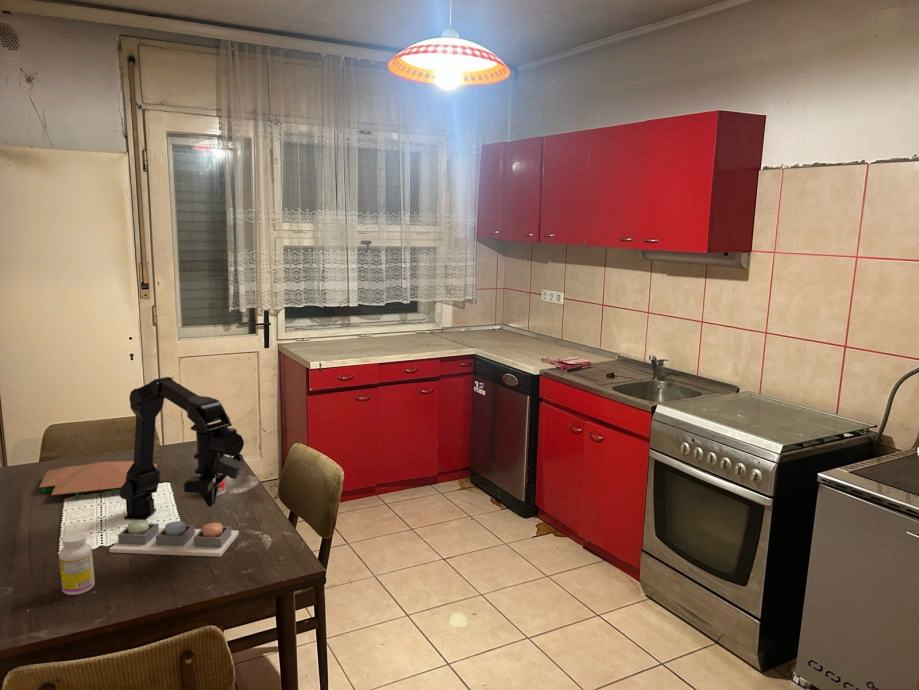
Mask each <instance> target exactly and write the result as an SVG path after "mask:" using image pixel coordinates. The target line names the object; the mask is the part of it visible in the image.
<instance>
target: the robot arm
mask: <svg viewBox="0 0 919 690" xmlns="http://www.w3.org/2000/svg"><path fill="white" fill-rule="evenodd" d="M165 399H166V400H168V401H170V402H171V403H172V404H174V405H176V406H177V407H179V408H180V409H182V410H184V411H185V412H186V416H187V418H188V419H189V420H190V421H191V422H192V423H193V425H191V427H190V430H191V431H194V432H195V435H196V453H194V454H193V456H194V459H195V460H197V468H196V469H195V470H194V475H192V476H191V477H190V478H188V480H186V481H184V483H183V484H182V486H183V493H197V494H198V493H199V495H201V497H202V499H203V501H204V502H205V503H206V506H207V507H211V508H212V507H213V506H214V505H215V504H216V499H217V497H218V496H217V493H218V488H219V485H220V482H221V481H222V480H223V479H224V478H225V479H226V478H227V477H229V478H230V479H233V480H236V479H237V478H238V477H239V476H240V475H241V473H242V472H243V471H242V470H243V468H244V467H245V461H244V455H243V454H242V453H241V452H242V450H243V448H244V445H245V444H244V443H245V442H244V439H243V436H242V435H240V433H238V431H237V428H234V427H232V425H233V424H232V422H231V417H229V415H228V414H227V412H226V410H225V408H224V406H223V405H222V402H221V401H220V400H218V399H216V398H214V397H210V396H204V395H203V396H202V395H198V394H197V393H195V392H193V391H191V390H189V389H188V388H187V387H186V386H183V385H182V384H179V383H178V382H176V381H175V380H174V379H173V377H169V376H165V377H164V376H163V377H159V378H155V379H153V380H151V381H149V383H147V384H145V385H143V386H140V387H138V388H134V389H133V390H131V391H130V394H129V403H130V404H129V405H130V410H131V411H132V412H133V414H134V415H135V433H134V452H133V461H134V463H133V465H132V466H131V467H130V469H129V470H128V472H127V475H126V481H125V483H124V485H123V486H122V487H121V488H119V489H118V490H119V493H118V494H119V497H120V498H121V499H122V500H125V507H126V508H125V509H126V515H124V516H123V519H124V520H147V519H148V518H149V517H151V516H152V515H153V514H154V513H155V512H156V511H157V509H156V508H155V498H153V494H154V493H157V492H158V486H159V483H161V480H160V477H161V476H160V475H161V471H160V470H159V469H158V468H157V469H156V467H155V466H154V465H153V464H154V450H155V435H156V434H155V433H156V420H157V416H158V415H159V413H160V412H161V411H162V409H163V406H164V403H165V402H164V401H165ZM222 474H223V475H222Z"/></svg>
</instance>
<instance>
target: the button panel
mask: <svg viewBox="0 0 919 690" xmlns="http://www.w3.org/2000/svg"><path fill="white" fill-rule="evenodd" d="M185 526H186V532H185V533H184V534H183V535H182V536H171V535H165V527H159V523H149V530H148V531H147V532H146V533H145V534H128V526H126V527H125V528H124V529H123V530H122V531H121V532H120V533H118V534H117V539H118V541H117V542H115V543H114V544H113V545H112V546H111V547H109V548H108V550H109V553H118V554H141V555H165V556H166V555H168V556H170V555H171V556H193V557H213V558H214V557H216V558H218V557H219V558H220V557H222V555H223V554H224V553H225V552H226V550H227V549H228V548H229V547H230V546H231V544H232V543H233V542H234V541H235V540H236V538H237V537H238V536H239V534H240V533H239V532H240V531H239V530H233V529H232V527H231V526H230V525H229V526H224V525H222V528H223V533H222V535H221V536H220V537H203V532H202V528H196V525H194V524H185Z"/></svg>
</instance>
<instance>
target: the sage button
mask: <svg viewBox="0 0 919 690" xmlns="http://www.w3.org/2000/svg"><path fill="white" fill-rule="evenodd" d="M127 527H128V534H145V533H146V532H147V531H148V530H149V521H148V520H147V519H145V520H140V519H135V520H134V521H131V522H129V523H128V524H127Z"/></svg>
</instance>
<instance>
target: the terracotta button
mask: <svg viewBox="0 0 919 690" xmlns="http://www.w3.org/2000/svg"><path fill="white" fill-rule="evenodd" d="M222 526H223V523H220V522H210V523H206V524H204V525H203V526H202V528H201V529H202V532H203V537H220V536H221V535H222V533H223V528H222Z"/></svg>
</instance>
